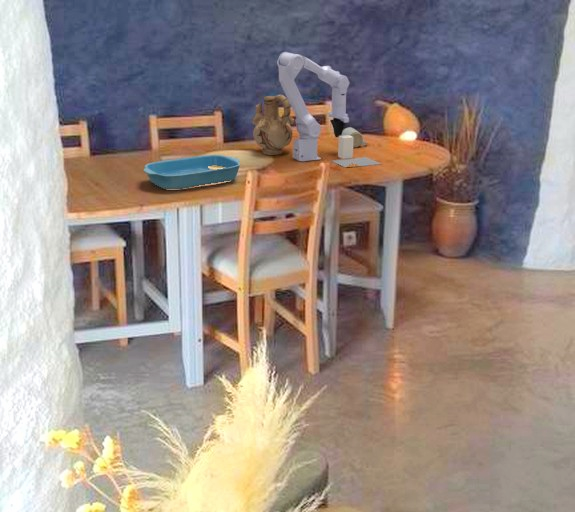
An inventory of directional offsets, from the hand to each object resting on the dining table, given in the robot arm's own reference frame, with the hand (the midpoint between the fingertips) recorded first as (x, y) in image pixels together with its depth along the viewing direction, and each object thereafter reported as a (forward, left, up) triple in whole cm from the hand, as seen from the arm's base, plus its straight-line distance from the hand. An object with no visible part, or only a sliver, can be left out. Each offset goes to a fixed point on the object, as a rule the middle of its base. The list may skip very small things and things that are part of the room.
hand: (338, 136), depth 366 cm
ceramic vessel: (-23, +14, -8) cm, 28 cm away
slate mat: (0, -16, -7) cm, 18 cm away
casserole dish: (-69, -19, -8) cm, 72 cm away
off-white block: (0, -7, -7) cm, 10 cm away
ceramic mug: (+14, +12, -8) cm, 20 cm away
